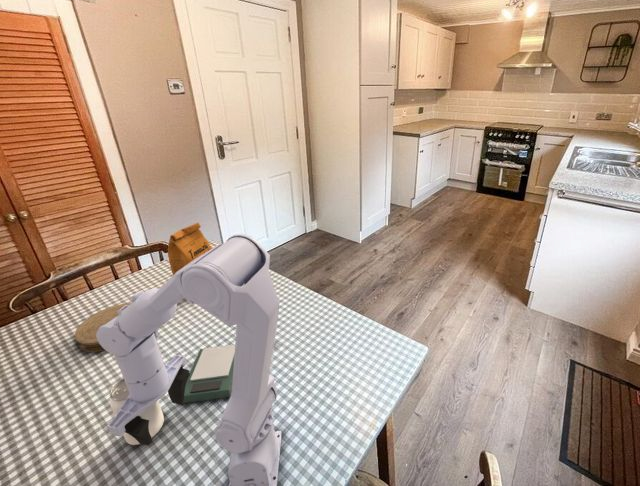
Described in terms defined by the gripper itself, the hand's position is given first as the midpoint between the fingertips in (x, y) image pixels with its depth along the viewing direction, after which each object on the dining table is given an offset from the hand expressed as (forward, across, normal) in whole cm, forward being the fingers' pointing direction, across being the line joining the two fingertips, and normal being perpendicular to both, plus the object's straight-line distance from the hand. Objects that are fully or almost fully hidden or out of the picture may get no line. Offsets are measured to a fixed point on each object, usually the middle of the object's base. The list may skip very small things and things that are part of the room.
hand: (162, 421), depth 58 cm
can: (+4, 0, -5) cm, 7 cm away
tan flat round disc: (+4, -21, -37) cm, 43 cm away
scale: (+4, -14, 0) cm, 14 cm away
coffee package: (+4, -44, -29) cm, 53 cm away
